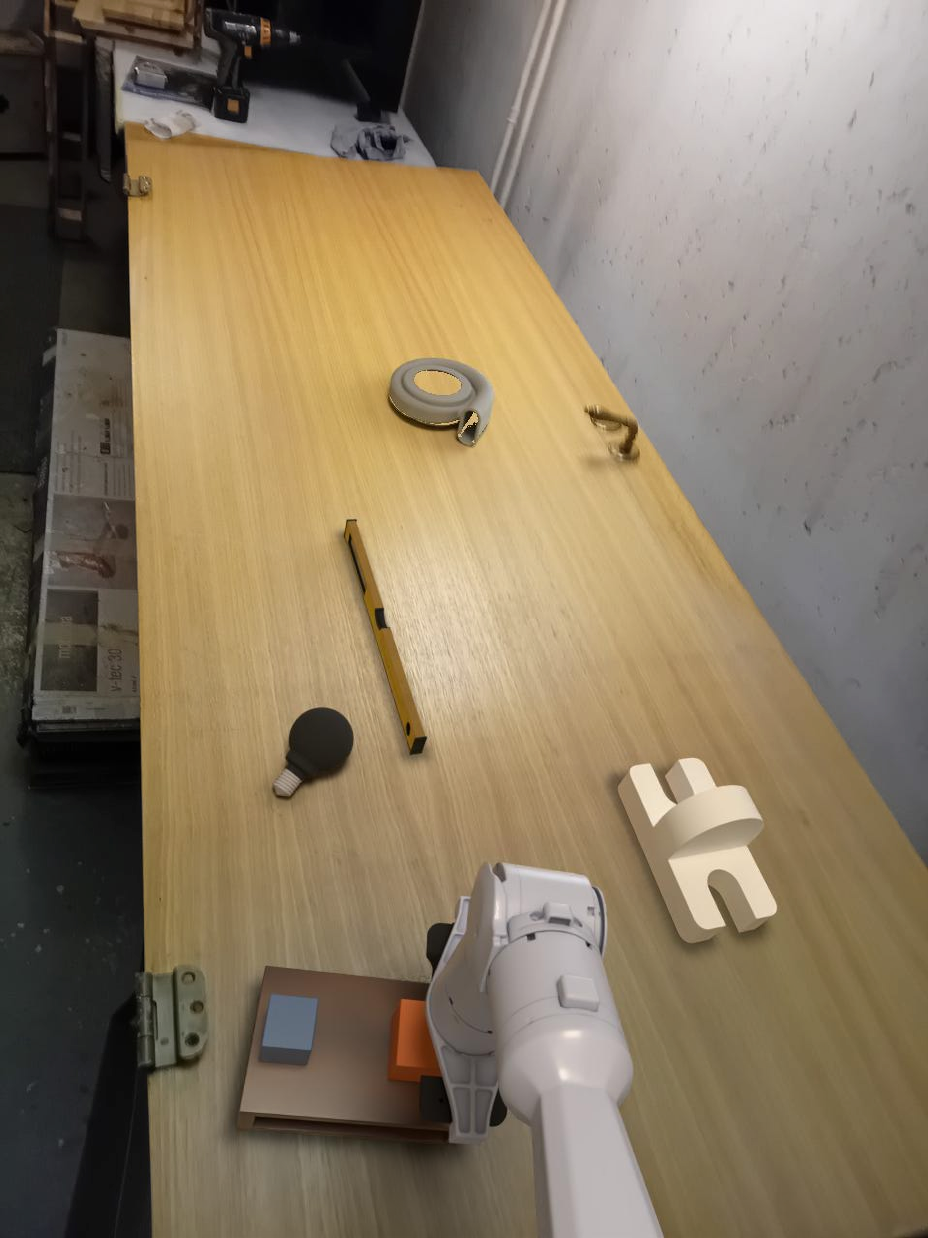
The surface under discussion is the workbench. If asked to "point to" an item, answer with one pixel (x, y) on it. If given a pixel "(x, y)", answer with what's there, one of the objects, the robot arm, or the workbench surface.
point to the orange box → (411, 1044)
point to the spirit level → (385, 640)
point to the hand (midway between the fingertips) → (443, 1046)
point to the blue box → (289, 1029)
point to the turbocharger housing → (444, 396)
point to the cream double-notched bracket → (699, 847)
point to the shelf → (337, 1064)
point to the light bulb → (315, 747)
